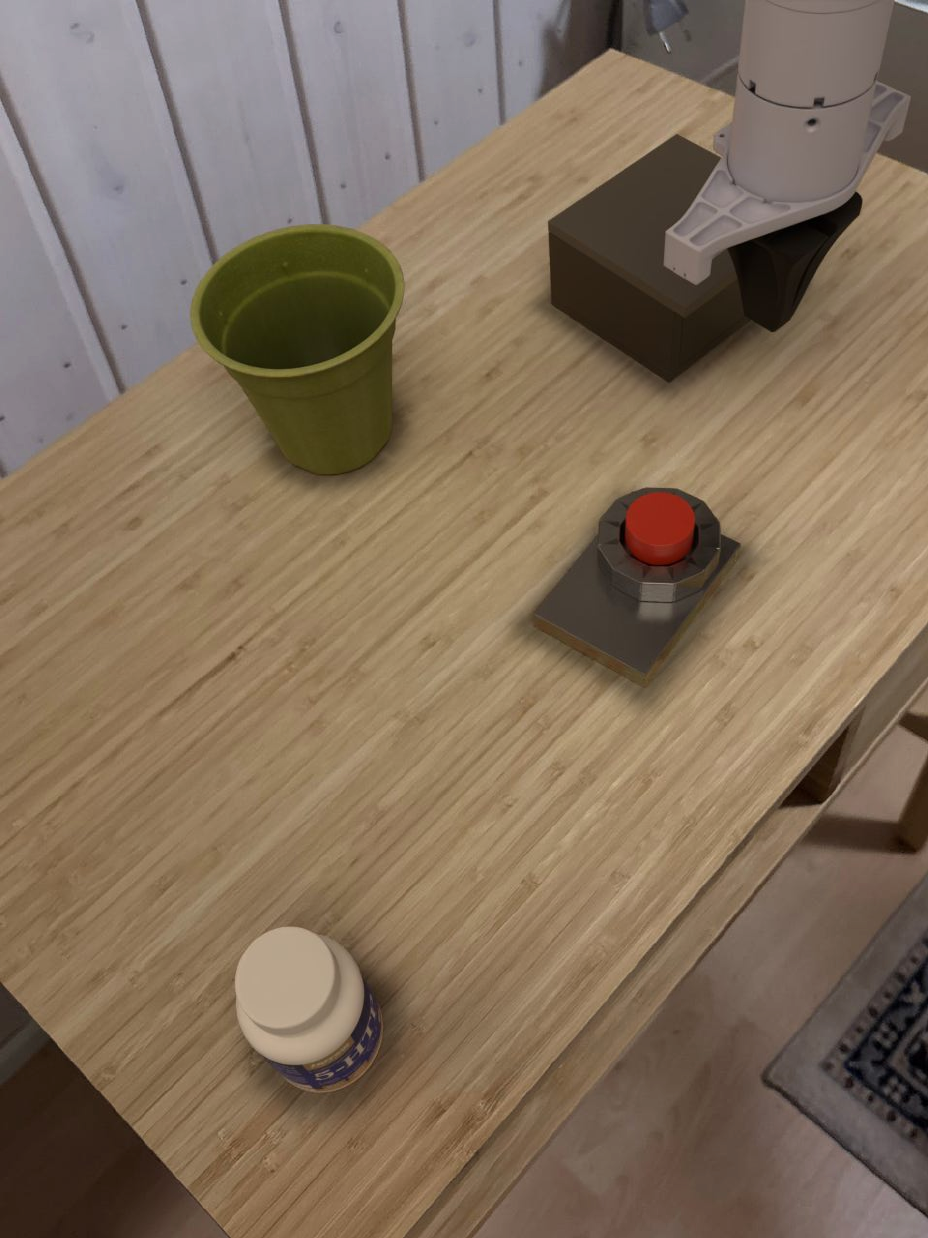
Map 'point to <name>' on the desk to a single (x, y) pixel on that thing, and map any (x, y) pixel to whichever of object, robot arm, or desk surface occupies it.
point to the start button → (659, 528)
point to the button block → (635, 592)
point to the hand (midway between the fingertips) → (766, 317)
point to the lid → (647, 223)
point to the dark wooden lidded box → (639, 313)
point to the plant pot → (308, 338)
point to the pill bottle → (307, 1009)
